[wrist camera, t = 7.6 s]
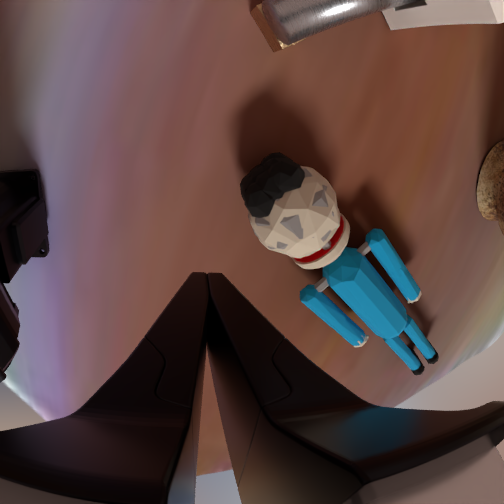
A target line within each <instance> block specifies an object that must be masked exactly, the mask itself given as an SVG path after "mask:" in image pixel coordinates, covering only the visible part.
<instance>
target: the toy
mask: <svg viewBox="0 0 504 504" xmlns="http://www.w3.org/2000/svg"><path fill="white" fill-rule="evenodd" d="M240 187H241V195H242V197H243V200H244V201H245V205H246V207H247V209H248V218H249V220H250V223H251V225H252V228H253V231H254V233H255V235H256V236H257V237H258V238H259V240H260V242H261V243H262V244H263V245H264V246H265V247H266V248H268V249H269V250H272V251H276V252H279V253H283V254H286V255H288V256H290V257H292V259H293V260H294V262H295V263H296V264H298V265H299V266H300V267H302V268H304V269H317V268H321V267H323V278H322V279H320V280H319V281H318V282H317V283H315V284H314V285H307V286H306V287H305V288H304V289H302V290H301V291H300V300H301V302H303V303H304V304H305V305H306V306H307V307H308V308H309V309H311V310H312V311H313V312H314V313H315V314H316V315H318V316H319V317H320V318H321V319H322V320H323V321H324V322H326V323H327V324H328V325H329V326H330V327H332V328H333V329H334V330H335V331H337V332H338V333H339V334H340V335H341V336H342V337H343V338H345V339H346V340H347V341H348V342H349V343H350V344H352V345H353V346H354V347H362V346H363V345H364V344H365V343H366V341H367V340H368V339H367V338H368V337H369V336H368V335H365V333H364V331H363V330H362V329H361V328H360V327H359V326H358V325H357V324H356V323H354V322H353V321H352V320H351V319H350V318H349V317H348V316H347V315H346V314H345V313H343V311H342V310H341V309H340V308H339V307H338V306H336V305H335V304H334V303H333V302H332V301H331V300H330V299H329V298H328V297H327V296H326V295H325V294H324V293H323V292H322V291H323V290H324V289H325V288H326V287H328V286H330V287H331V288H332V289H333V290H334V291H335V292H336V293H337V294H338V295H339V296H340V297H341V298H342V299H343V300H344V301H345V303H346V304H347V305H348V306H349V307H350V308H351V309H352V310H353V311H354V312H355V313H356V314H357V315H358V316H359V317H360V318H361V319H362V320H363V321H364V322H365V324H366V325H367V326H368V327H369V328H370V329H371V330H372V331H373V332H374V333H375V334H376V335H377V336H380V337H382V338H383V339H384V341H385V342H386V343H387V344H388V345H389V346H390V347H391V348H392V350H393V351H394V352H395V353H396V354H397V355H398V356H399V357H400V358H401V359H402V360H403V361H404V362H405V363H406V364H407V365H408V367H409V368H410V369H411V370H412V372H413V373H414V375H420V374H422V372H423V371H424V368H425V367H424V366H423V364H422V362H421V361H420V359H419V358H418V356H417V355H416V353H415V352H414V350H410V349H409V348H408V347H407V346H406V344H405V343H404V342H403V341H402V340H401V339H400V338H399V337H398V335H399V334H400V333H401V332H402V331H403V330H404V331H405V332H406V334H407V335H408V336H409V337H410V338H411V340H412V341H413V342H414V343H415V345H416V346H417V348H418V349H419V350H420V352H421V353H422V354H423V356H424V357H425V359H426V360H427V362H428V363H430V364H434V363H435V362H437V361H438V358H439V357H438V353H437V352H436V350H435V349H434V348H433V346H432V345H431V343H430V342H429V341H428V340H427V339H426V338H425V336H424V334H423V333H422V331H421V330H420V329H419V327H418V326H417V325H416V323H415V322H414V320H413V319H412V318H411V317H410V316H409V315H407V314H406V309H405V307H404V306H403V305H402V303H401V302H400V301H399V299H398V298H397V297H396V295H395V294H394V293H393V292H392V290H391V289H390V288H389V286H388V285H387V284H386V282H385V281H384V280H383V279H382V277H381V276H380V275H379V274H378V272H377V271H376V270H375V268H374V267H373V266H372V265H371V263H370V262H369V261H368V260H367V258H366V257H365V256H364V255H366V254H367V253H368V252H369V251H370V250H371V252H372V253H373V254H374V256H375V257H376V258H377V260H378V261H379V262H380V264H381V265H382V266H383V268H384V269H385V270H386V272H387V273H388V275H389V276H390V277H391V278H392V280H393V281H394V283H395V284H396V286H397V287H398V288H399V290H400V291H401V293H402V294H403V296H404V297H405V298H406V300H407V301H408V304H409V303H413V302H415V301H418V300H419V298H420V296H421V294H422V292H421V291H420V288H419V287H418V285H417V284H416V282H415V280H414V279H413V277H412V276H411V274H410V273H409V271H408V270H407V268H406V267H405V265H404V263H403V262H402V260H401V258H400V257H399V255H398V254H397V252H396V250H395V249H394V247H393V246H392V244H391V243H390V241H389V240H388V238H387V236H386V235H385V233H384V232H383V230H382V229H375V228H374V229H372V230H371V231H370V232H369V233H368V234H366V239H365V243H363V244H362V245H361V246H360V247H359V248H358V249H356V248H350V247H346V245H347V242H348V238H349V234H350V225H349V223H348V221H347V220H346V218H345V217H344V216H343V215H342V214H341V213H340V212H339V209H338V207H337V200H336V193H335V191H334V190H333V188H332V186H331V185H330V184H329V182H328V181H327V180H326V179H325V178H324V177H323V176H322V175H320V174H319V173H318V172H317V171H315V170H314V169H313V168H310V167H304V166H300V165H299V164H297V163H295V162H293V160H291V159H289V158H288V157H286V156H285V155H283V154H281V153H280V152H279V153H272V154H270V155H269V156H267V157H266V158H264V159H263V161H262V162H261V164H260V165H257V166H256V167H255V168H253V169H252V170H251V171H250V173H249V174H248V175H247V176H245V177H244V178H243V179H242V181H241V183H240Z"/></svg>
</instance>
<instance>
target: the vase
mask: <svg viewBox="0 0 504 504" xmlns="http://www.w3.org/2000/svg"><path fill="white" fill-rule="evenodd" d="M477 203H478V208H479V211H480V212H481V214H482V216H483V217H484V218H485V219H487V220H491V221H499V226H500V229H501V231H502V233H503V235H504V140H503V141H500V142H499V143H497V144H496V145H495V146H494V147H493V148H492V150H491V151H490V152H489V154H488V155H487V157H486V159H485V161H484V164H483V166H482V168H481V172H480V175H479V181H478V186H477Z"/></svg>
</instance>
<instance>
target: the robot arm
mask: <svg viewBox="0 0 504 504" xmlns="http://www.w3.org/2000/svg"><path fill="white" fill-rule="evenodd" d="M31 174H32V175H34V180H33V179H32V178H31ZM48 233H49V232H48V225H47V218H46V210H45V202H44V200H43V199H42V194H41V183H40V174H39V172H38V171H37V170H36V169H25V170H10V171H0V382H2V381H3V380H5V378H6V374H5V373H4V372H5V371H6V370H7V368H8V367H9V365H10V364H11V362H12V359H13V358H14V356H15V354H16V352H17V350H18V348H19V344H20V343H19V341H18V339H17V337H18V333H19V328H20V322H19V318H18V314H19V309H18V307H17V306H16V304H15V303H13V301H12V299H11V297H10V295H9V293H8V292H7V290H6V288H5V286H4V284H3V283H9V282H10V281H11V280H12V278H13V277H14V275H15V274H16V272H17V271H18V269H19V268H20V267H21V265H22V264H23V265H25V264H26V263H27V262H28V261H29V259H30V258H31V257H46V256H47V254H48V253H49V244H48V238H47V235H48ZM41 248H42V249H44V251H45V252H43V251H42V250H41ZM206 346H207V351H208V357H209V362H210V367H211V372H212V377H213V382H214V387H215V392H216V397H217V402H218V406H219V411H220V416H221V420H222V425H223V429H224V434H225V438H226V442H227V447H228V451H229V455H230V459H231V463H232V467H233V471H234V475H235V479H236V483H237V486H238V491H239V495H240V499H241V502H242V504H504V461H503V459H502V457H501V455H500V454H499V452H498V450H497V448H496V446H497V445H498V444H499V443H500V442H501V441H502V440H503V439H504V402H503V401H492V402H490V403H487V404H485V405H483V406H480V407H478V408H475V409H470V410H460V411H435V410H416V409H401V408H389V407H381V406H377V405H373V404H371V403H368V402H366V401H365V400H363V399H361V398H360V397H358V396H357V395H355V394H354V393H352V392H351V391H350V390H348V389H347V388H346V387H344V386H343V385H342V384H340V383H339V382H338V381H336V380H335V379H334V378H332V377H331V376H330V375H328V374H327V373H326V372H324V371H323V370H322V369H321V368H319V367H318V366H317V365H316V364H314V363H313V362H312V361H311V360H309V359H308V358H307V357H306V356H305V355H304V354H303V353H301V352H300V351H299V350H298V349H297V348H296V347H295V346H294V345H293V344H292V343H291V342H290V341H289V340H288V339H287V338H285V337H284V335H283V334H282V333H281V332H280V331H279V330H277V329H276V328H275V327H274V326H273V325H272V324H271V323H270V322H269V321H268V320H267V319H266V318H265V317H264V316H263V315H262V314H261V313H260V312H259V311H258V310H257V308H256V307H255V306H254V305H253V304H252V303H251V302H250V301H249V300H248V299H247V298H246V297H245V296H244V295H243V294H242V293H241V292H240V291H239V290H238V289H237V288H236V287H235V286H234V285H233V284H232V283H231V282H230V281H229V280H228V279H227V278H226V277H225V276H224V275H223V274H222V273H208V274H206V273H204V272H192V273H191V274H190V276H189V277H188V278H187V280H186V281H185V282H184V283H183V285H182V286H181V287H180V289H179V290H178V291H177V293H176V294H175V296H174V297H173V298H172V300H171V301H170V302H169V304H168V305H167V306H166V308H165V309H164V310H163V312H162V313H161V314H160V316H159V317H158V318H157V320H156V321H155V323H154V324H153V325H152V327H151V328H150V329H149V331H148V332H147V334H146V335H145V336H144V338H143V339H142V340H141V342H140V343H139V344H138V346H137V347H136V348H135V350H134V351H133V352H132V354H131V355H130V356H129V357H128V359H127V360H126V361H125V362H124V363H123V364H122V365H121V366H120V367H119V369H118V370H117V371H116V372H115V373H114V374H113V375H112V376H111V377H110V378H109V379H108V380H107V381H106V382H105V383H104V384H103V385H102V386H101V387H100V388H99V390H98V391H97V392H96V393H95V394H94V395H93V396H92V397H91V398H90V399H89V400H88V401H87V402H86V403H85V404H84V405H83V406H82V407H81V408H79V409H78V410H77V411H76V412H74V413H72V414H71V415H69V416H66V417H64V418H60V419H56V420H52V421H47V422H43V423H39V424H34V425H30V426H25V427H20V428H15V429H10V430H5V431H0V504H195V485H196V470H197V456H198V442H199V429H200V416H201V404H202V393H203V381H204V371H205V360H206Z"/></svg>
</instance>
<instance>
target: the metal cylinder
mask: <svg viewBox="0 0 504 504" xmlns="http://www.w3.org/2000/svg"><path fill="white" fill-rule="evenodd" d="M418 1H422V0H263V1H262V3H261V4H259V5H256V7H255V8H254V9H253V10H252V11H251V12H250V13H251V15H252V17H253V18H254V20H255V22H256V23H257V25H258V26H259V28H260V30H261V31H262V33H263V35H264V36H265V38H266V40H267V42H268V43H269V45H270V47H271V48H272V50H273V52H276V51H279V50H282V49H284V48H286V47H289V46H291V45H293V44H295V43H298V42H300V41H302V40H305V38H307V37H309V36H312V35H314V34H317V33H319V32H322V31H324V30H327V29H330V28H332V27H335V26H338V25H341V24H343V23H346V22H349V21H352V20H355V19H358V18H361V17H364V16H367V15H370V14H373V13H377V12H380V11H383V10H387V9H390V8H394V7H398V6H402V5H405V4H409V3H413V2H418Z"/></svg>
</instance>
